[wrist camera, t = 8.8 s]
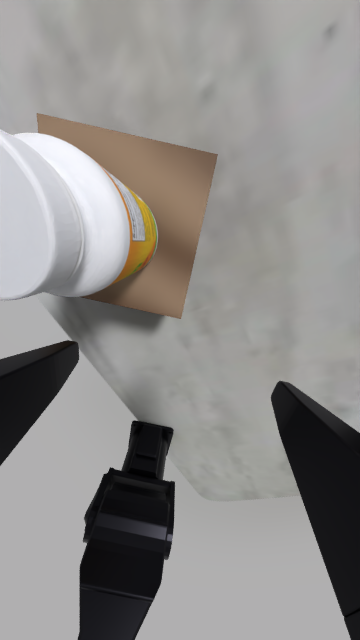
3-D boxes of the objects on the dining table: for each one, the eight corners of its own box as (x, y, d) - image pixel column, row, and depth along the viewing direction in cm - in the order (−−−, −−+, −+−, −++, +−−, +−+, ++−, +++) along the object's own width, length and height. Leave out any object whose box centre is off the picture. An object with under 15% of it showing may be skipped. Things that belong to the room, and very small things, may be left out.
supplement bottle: (105, 281, 15) (-36, 343, 6) (71, 206, 13) (-225, 122, 4) (169, 260, 14) (120, 298, 5) (142, 176, 12) (-28, -38, 3)
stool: (184, 301, 20) (180, 318, 15) (85, 279, 20) (52, 290, 15) (210, 180, 16) (217, 154, 11) (83, 151, 15) (36, 113, 11)
